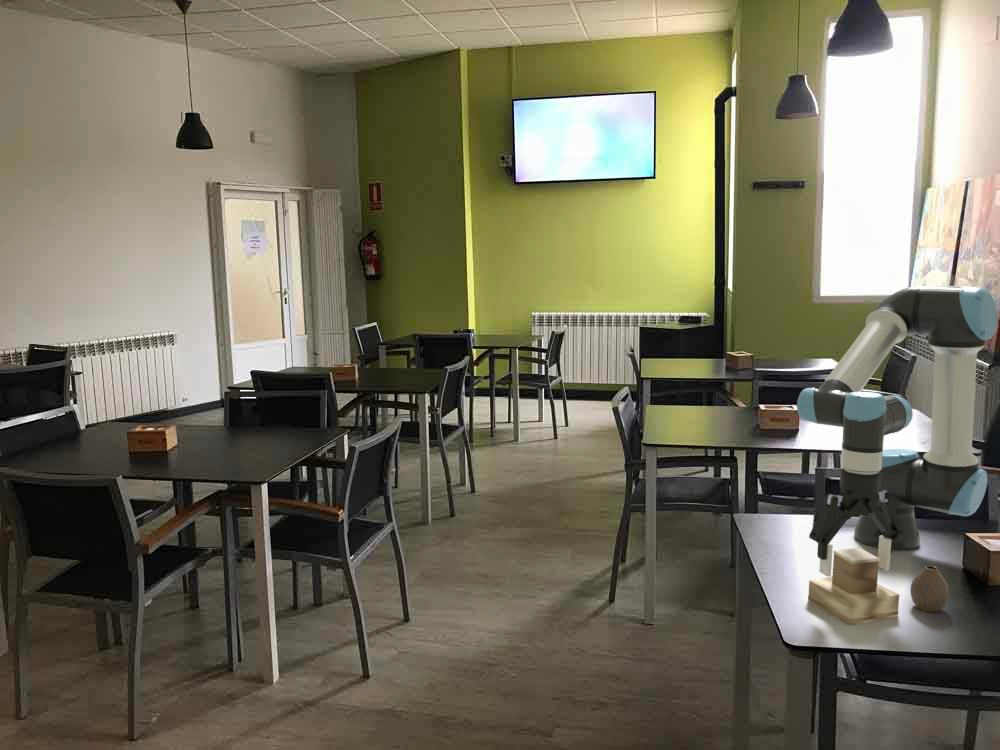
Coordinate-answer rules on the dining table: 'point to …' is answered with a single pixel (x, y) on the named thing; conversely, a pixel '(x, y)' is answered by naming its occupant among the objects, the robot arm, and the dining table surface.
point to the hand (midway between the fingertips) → (854, 571)
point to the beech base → (853, 602)
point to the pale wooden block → (855, 571)
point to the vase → (929, 590)
